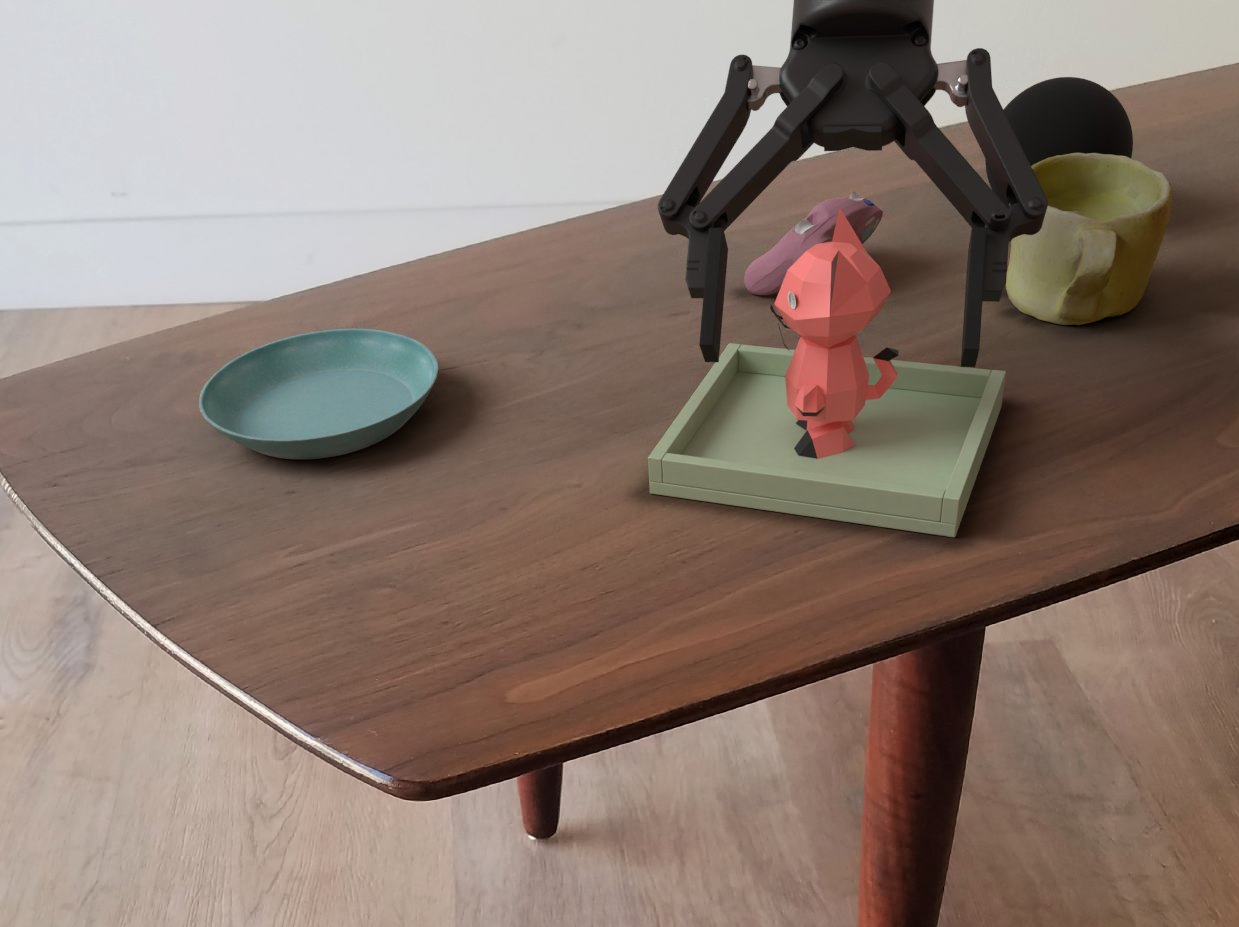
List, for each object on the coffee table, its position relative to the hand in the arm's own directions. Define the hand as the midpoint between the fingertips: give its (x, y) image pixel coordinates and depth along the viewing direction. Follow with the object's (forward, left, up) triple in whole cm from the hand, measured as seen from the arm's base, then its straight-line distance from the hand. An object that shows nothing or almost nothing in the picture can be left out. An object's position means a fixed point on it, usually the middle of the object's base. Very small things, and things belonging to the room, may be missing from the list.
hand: (836, 357), depth 73 cm
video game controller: (+8, -25, -7) cm, 27 cm away
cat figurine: (+1, -2, -6) cm, 6 cm away
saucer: (+32, +2, -7) cm, 32 cm away
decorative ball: (-6, -39, -7) cm, 40 cm away
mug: (-10, -23, -7) cm, 26 cm away
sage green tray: (+1, -2, -6) cm, 7 cm away
